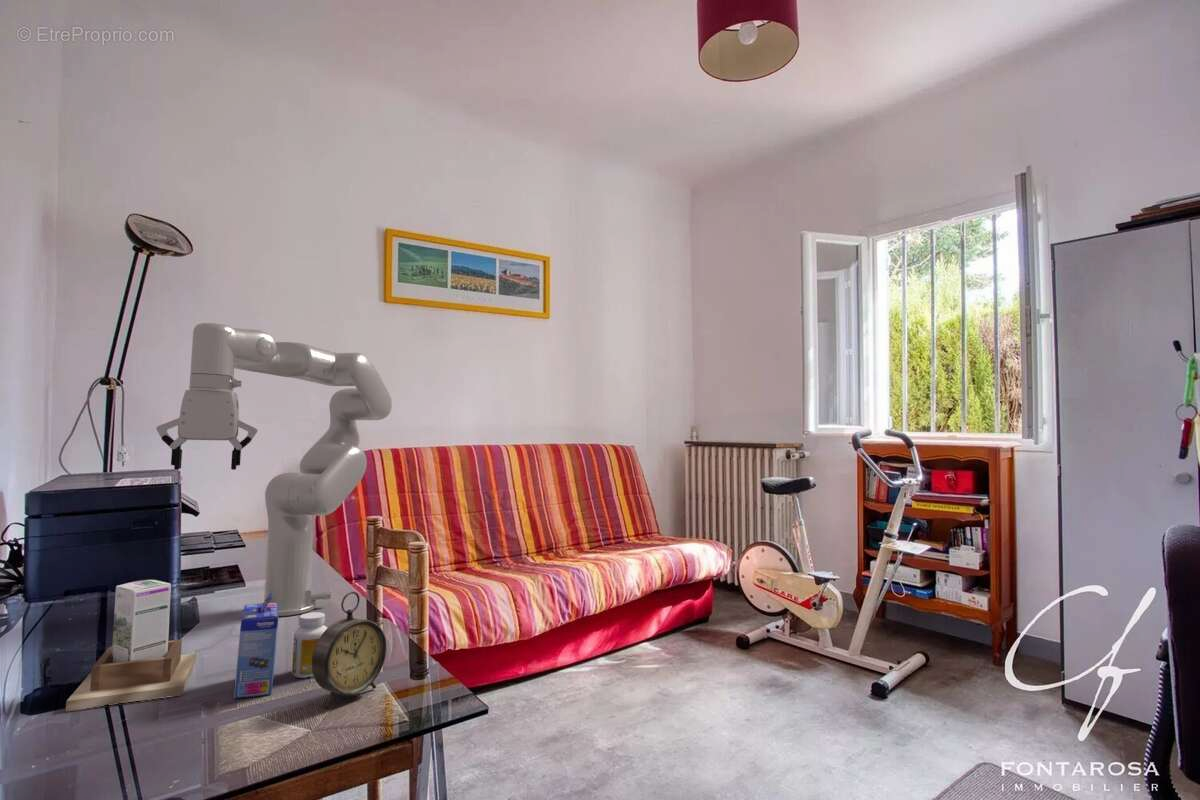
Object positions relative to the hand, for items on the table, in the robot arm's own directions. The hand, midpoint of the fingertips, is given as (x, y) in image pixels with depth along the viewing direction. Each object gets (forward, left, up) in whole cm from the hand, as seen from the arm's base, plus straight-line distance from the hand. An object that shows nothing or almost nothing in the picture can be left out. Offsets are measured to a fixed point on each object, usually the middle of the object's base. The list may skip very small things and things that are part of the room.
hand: (206, 469), depth 125 cm
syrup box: (+5, +23, -32) cm, 40 cm away
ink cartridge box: (-12, +31, -34) cm, 47 cm away
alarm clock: (-25, +41, -34) cm, 59 cm away
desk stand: (+5, +23, -33) cm, 41 cm away
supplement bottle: (-20, +28, -34) cm, 48 cm away
